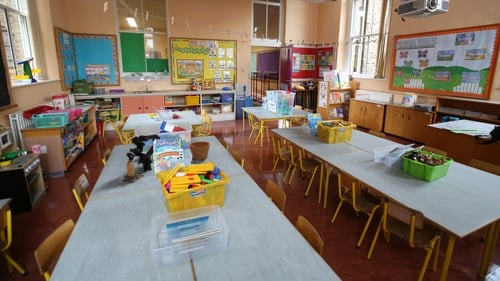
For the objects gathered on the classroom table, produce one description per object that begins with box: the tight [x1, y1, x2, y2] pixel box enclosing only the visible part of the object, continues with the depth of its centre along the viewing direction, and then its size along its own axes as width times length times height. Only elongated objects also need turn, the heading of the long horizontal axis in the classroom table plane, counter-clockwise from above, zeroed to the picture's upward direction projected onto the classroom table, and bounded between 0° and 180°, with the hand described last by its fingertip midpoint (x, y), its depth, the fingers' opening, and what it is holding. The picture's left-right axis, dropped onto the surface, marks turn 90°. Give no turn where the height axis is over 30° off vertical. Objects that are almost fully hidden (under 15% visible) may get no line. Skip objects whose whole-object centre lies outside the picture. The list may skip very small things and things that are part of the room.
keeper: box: [121, 172, 145, 184], centre depth 240 cm, size 14×11×4 cm
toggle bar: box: [125, 159, 136, 176], centre depth 237 cm, size 4×4×16 cm
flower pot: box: [188, 141, 211, 161], centre depth 290 cm, size 21×21×15 cm
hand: (133, 164), depth 241 cm, fingers open, 9 cm apart
